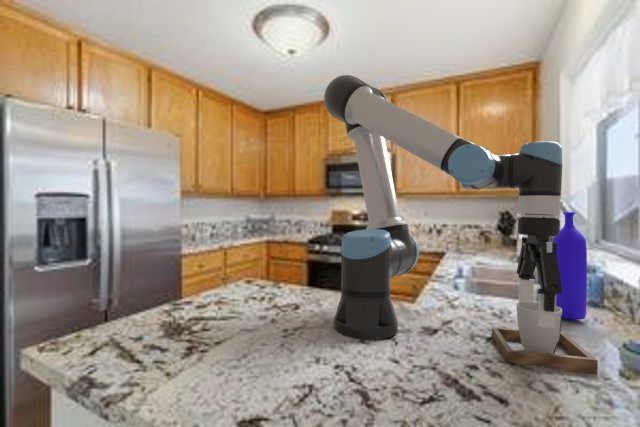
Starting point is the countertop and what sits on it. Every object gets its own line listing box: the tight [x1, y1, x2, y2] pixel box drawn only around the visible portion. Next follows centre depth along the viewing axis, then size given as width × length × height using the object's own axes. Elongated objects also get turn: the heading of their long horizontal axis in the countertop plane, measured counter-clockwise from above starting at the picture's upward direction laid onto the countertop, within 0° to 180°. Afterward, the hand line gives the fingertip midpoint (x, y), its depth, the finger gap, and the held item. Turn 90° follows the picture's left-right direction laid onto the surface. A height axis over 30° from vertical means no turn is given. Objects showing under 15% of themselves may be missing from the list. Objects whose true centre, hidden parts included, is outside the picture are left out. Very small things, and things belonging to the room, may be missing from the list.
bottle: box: [552, 211, 588, 321], centre depth 101 cm, size 8×8×30 cm
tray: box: [491, 326, 598, 375], centre depth 74 cm, size 15×15×2 cm
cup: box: [516, 301, 563, 354], centre depth 73 cm, size 8×8×10 cm
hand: (535, 316), depth 74 cm, fingers open, 13 cm apart
